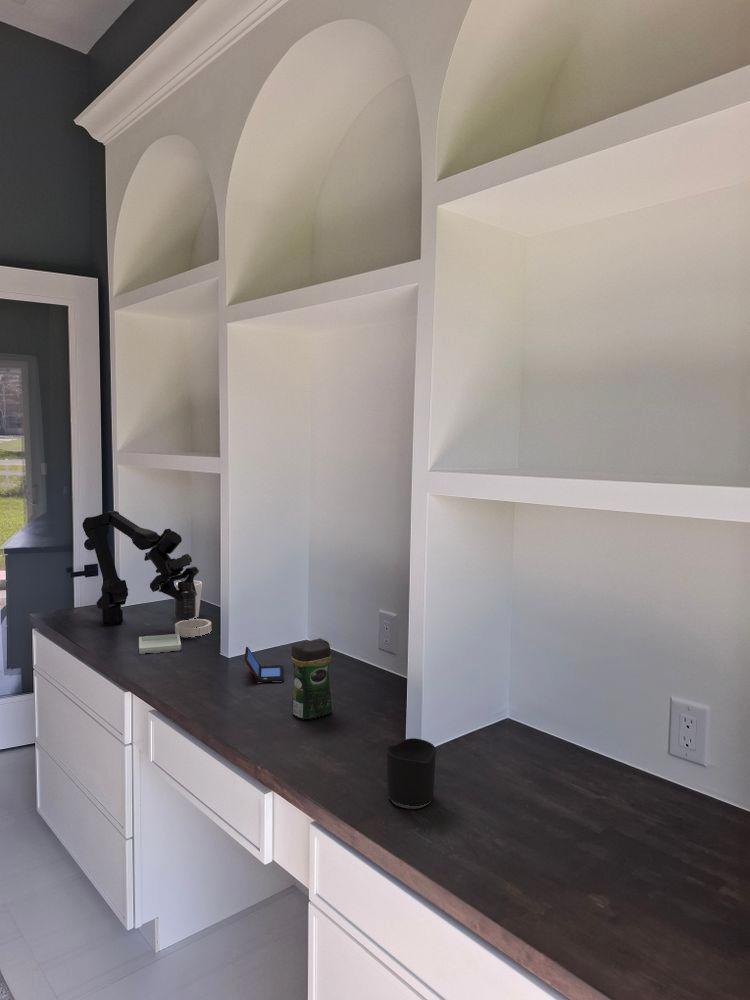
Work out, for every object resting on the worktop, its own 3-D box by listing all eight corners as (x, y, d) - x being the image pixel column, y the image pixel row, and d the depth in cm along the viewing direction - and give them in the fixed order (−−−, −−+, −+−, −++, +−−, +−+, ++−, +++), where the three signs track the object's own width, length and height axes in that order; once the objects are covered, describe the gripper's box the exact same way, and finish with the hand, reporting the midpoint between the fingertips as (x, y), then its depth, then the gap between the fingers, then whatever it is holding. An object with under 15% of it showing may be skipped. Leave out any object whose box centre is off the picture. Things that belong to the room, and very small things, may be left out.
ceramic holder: (176, 638, 237) (175, 629, 236) (174, 628, 248) (174, 620, 248) (212, 635, 240) (212, 627, 240) (209, 626, 252) (209, 617, 251)
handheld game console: (283, 683, 197) (283, 657, 196) (244, 685, 195) (243, 659, 194) (283, 668, 209) (283, 644, 208) (246, 670, 208) (246, 645, 207)
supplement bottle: (197, 615, 242) (198, 580, 241) (193, 620, 235) (193, 584, 234) (177, 614, 241) (177, 580, 241) (172, 619, 235) (172, 583, 234)
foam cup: (195, 612, 270) (195, 579, 268) (207, 617, 262) (206, 583, 261) (172, 616, 264) (171, 582, 262) (182, 622, 256) (182, 587, 255)
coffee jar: (319, 704, 182) (319, 633, 180) (336, 714, 175) (336, 641, 173) (286, 713, 176) (286, 640, 174) (302, 723, 170) (302, 648, 168)
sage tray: (139, 654, 220) (139, 648, 220) (139, 642, 232) (139, 636, 232) (181, 650, 224) (181, 644, 224) (179, 639, 236) (178, 633, 235)
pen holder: (436, 812, 131) (436, 761, 130) (385, 811, 132) (385, 759, 130) (434, 787, 140) (434, 738, 139) (386, 785, 141) (387, 737, 140)
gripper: (155, 551, 229) (182, 589, 226) (194, 543, 246) (220, 578, 242) (138, 572, 234) (164, 609, 230) (177, 563, 250) (202, 597, 247)
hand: (188, 598), depth 237 cm, fingers closed on supplement bottle, 7 cm apart
